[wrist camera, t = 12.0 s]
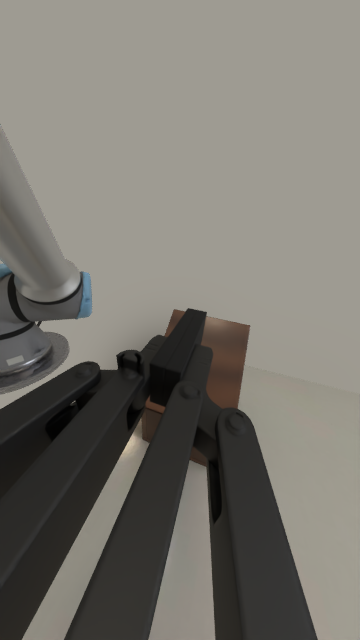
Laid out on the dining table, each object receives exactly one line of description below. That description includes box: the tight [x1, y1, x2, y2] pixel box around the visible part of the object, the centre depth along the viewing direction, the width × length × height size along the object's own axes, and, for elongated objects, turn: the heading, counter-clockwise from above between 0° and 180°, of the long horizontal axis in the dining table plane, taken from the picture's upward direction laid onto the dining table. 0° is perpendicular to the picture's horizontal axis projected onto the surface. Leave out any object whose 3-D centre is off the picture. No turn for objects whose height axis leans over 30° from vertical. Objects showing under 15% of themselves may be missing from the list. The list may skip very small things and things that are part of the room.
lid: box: [146, 310, 250, 413], centre depth 25 cm, size 16×13×1 cm
